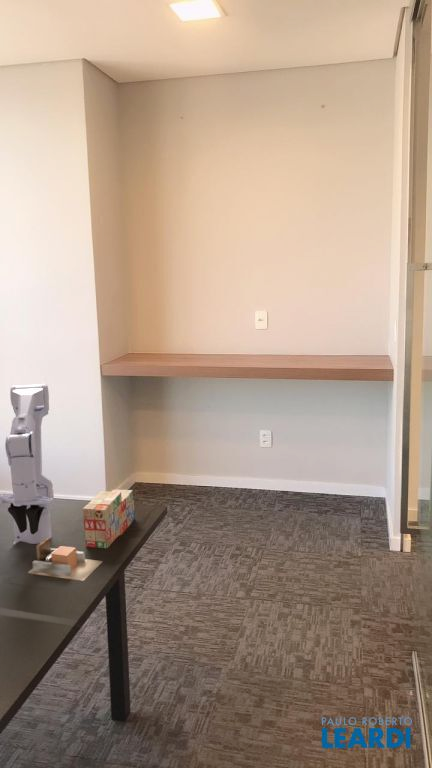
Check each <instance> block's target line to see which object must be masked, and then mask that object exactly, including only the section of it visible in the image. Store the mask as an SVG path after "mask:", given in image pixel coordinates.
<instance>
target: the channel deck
mask: <svg viewBox="0 0 432 768" xmlns="http://www.w3.org/2000/svg"><path fill="white" fill-rule="evenodd" d="M57 548H58V547H56V548H54V547H50V550H51V553H52V552H53V551H55V550H56V549H57ZM76 554H77V565H76V566H74V567H73V568H72V569H71V568H70V565H66V564H59V563H51V562H44V561H37V560H33V561H32V568H31V569H30V570H29V571H28V572H27V574H33V575H37V576H38V575H39V576H47V577H51V578H52V577H53V578H61V579H66V580H67V579H68V580H72V581H80V582H83V581H84V582H85V580H86V579H87V578H88V577H89V576H90V575H91V574H92V573H93V572H94V571H95V570H96V569H97V568H98V567H99V566H100V565H101V564H103V560H95V559H90V558H89V559H88V558H86V555H85V554H86V553H85V551H79V550H76Z"/></svg>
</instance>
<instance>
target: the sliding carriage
mask: <svg viewBox="0 0 432 768" xmlns="http://www.w3.org/2000/svg"><path fill="white" fill-rule="evenodd" d="M35 548H36V558H37V560H36V561H44V562H51V563H52V557H51V554H52V553H53V552H54V551H53V552H52V553H51V550H50V548H51V538H50V539H49V538H46V539H45V540H43V541H42V542H41V543H37V544H36V546H35Z"/></svg>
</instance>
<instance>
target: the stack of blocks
mask: <svg viewBox="0 0 432 768" xmlns="http://www.w3.org/2000/svg"><path fill="white" fill-rule="evenodd" d="M133 493H134V492H133V489H112V490H111V491H107V490H101V491H99V492H98V493H97V494H96V495H95V497H93V498H92V499H91V500H90V501H89V502H88V503H87V504H86V505H85V506H84V507H83V508H82V511H83V512H82V513H83V525H84V526H83V527H84V536H85V541H84V542H85V547H89V548H99V549H100V548H101V549H108V548H109V547H110V546H111V544H113V542H114V541H115V540H116V539H117V538H118V537H119V536H122V535H123V534H124V532H125V531H126V530H127V529H128V528H129V527H130V525H131V524H132V523H133V522H134V520H135V518H136V517H135V514H136V513H135V500H134V494H133Z"/></svg>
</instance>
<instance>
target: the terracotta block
mask: <svg viewBox="0 0 432 768" xmlns="http://www.w3.org/2000/svg"><path fill="white" fill-rule="evenodd" d="M56 548H57V549H56V550H55V551H54V552H53V553H52V554H51V557H52V563H59V564H66V565H70V568H71V569H72V568H73V567H74V566H76V565H77V554H76V551H77V548H76V547H73V546H64V545H60V546H58V547H56Z"/></svg>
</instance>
